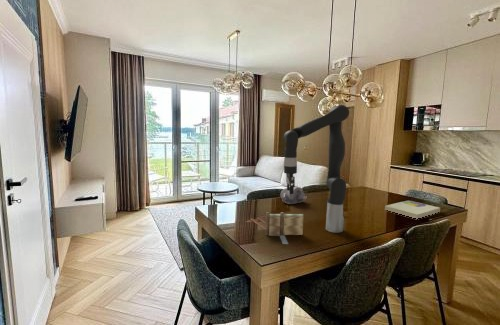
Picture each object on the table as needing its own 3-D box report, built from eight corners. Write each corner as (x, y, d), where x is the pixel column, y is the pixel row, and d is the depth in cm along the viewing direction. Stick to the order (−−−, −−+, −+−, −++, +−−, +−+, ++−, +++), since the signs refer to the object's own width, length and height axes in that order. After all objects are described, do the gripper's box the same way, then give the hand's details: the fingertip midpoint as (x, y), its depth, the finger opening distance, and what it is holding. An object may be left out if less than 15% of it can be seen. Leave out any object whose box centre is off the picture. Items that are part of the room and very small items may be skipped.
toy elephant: (297, 200, 221) (295, 184, 222) (310, 201, 206) (308, 184, 207) (279, 205, 211) (277, 187, 212) (292, 206, 196) (290, 187, 197)
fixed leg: (283, 233, 143) (284, 212, 141) (283, 235, 140) (284, 213, 139) (265, 233, 142) (265, 212, 140) (265, 235, 140) (266, 213, 138)
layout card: (300, 233, 145) (300, 232, 145) (308, 244, 130) (308, 243, 130) (260, 233, 144) (260, 232, 144) (263, 244, 129) (263, 244, 129)
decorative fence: (263, 219, 170) (244, 222, 164) (263, 216, 170) (244, 219, 163) (282, 231, 150) (261, 235, 143) (282, 228, 150) (261, 232, 143)
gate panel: (284, 234, 140) (285, 215, 139) (283, 233, 142) (284, 214, 141) (302, 234, 141) (303, 215, 140) (301, 233, 143) (302, 214, 142)
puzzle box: (384, 211, 195) (417, 220, 174) (384, 205, 194) (417, 214, 174) (408, 205, 213) (440, 213, 192) (408, 200, 212) (441, 207, 192)
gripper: (299, 166, 137) (299, 195, 139) (294, 163, 151) (294, 189, 153) (286, 166, 137) (285, 195, 139) (282, 163, 151) (282, 189, 153)
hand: (290, 192), depth 146 cm, fingers open, 8 cm apart
